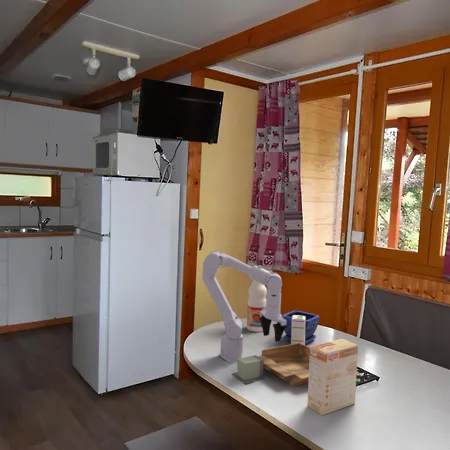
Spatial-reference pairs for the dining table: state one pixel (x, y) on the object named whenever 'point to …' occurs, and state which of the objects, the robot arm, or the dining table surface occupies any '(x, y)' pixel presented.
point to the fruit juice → (256, 306)
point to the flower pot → (309, 321)
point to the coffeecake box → (332, 376)
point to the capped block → (250, 367)
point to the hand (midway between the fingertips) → (271, 338)
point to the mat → (249, 379)
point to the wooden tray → (288, 362)
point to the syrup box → (298, 329)
